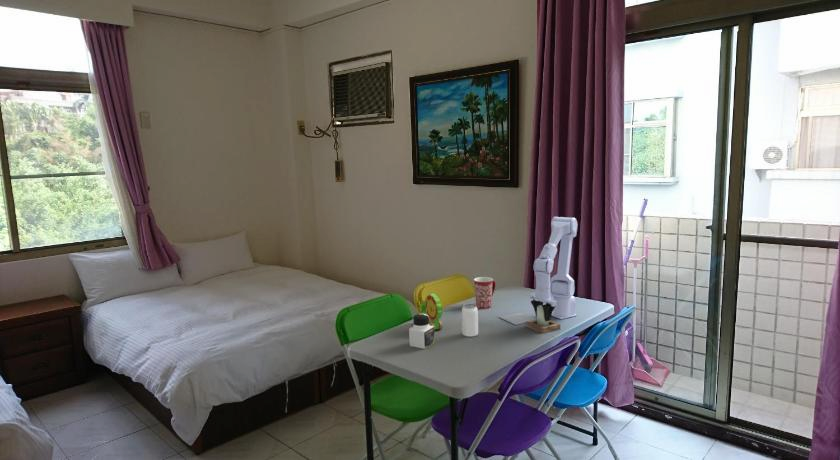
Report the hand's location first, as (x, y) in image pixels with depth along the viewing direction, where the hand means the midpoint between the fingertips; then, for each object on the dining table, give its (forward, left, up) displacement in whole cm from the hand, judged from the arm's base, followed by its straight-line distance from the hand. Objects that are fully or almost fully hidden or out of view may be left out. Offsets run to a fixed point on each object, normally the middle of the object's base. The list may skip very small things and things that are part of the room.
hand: (543, 318), depth 216 cm
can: (+30, -9, -4) cm, 32 cm away
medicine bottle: (+52, -9, -4) cm, 53 cm away
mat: (+2, -14, -4) cm, 15 cm away
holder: (0, 0, -4) cm, 4 cm away
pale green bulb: (0, 0, -3) cm, 3 cm away
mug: (+3, -38, -4) cm, 38 cm away
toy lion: (+40, -25, -4) cm, 47 cm away
